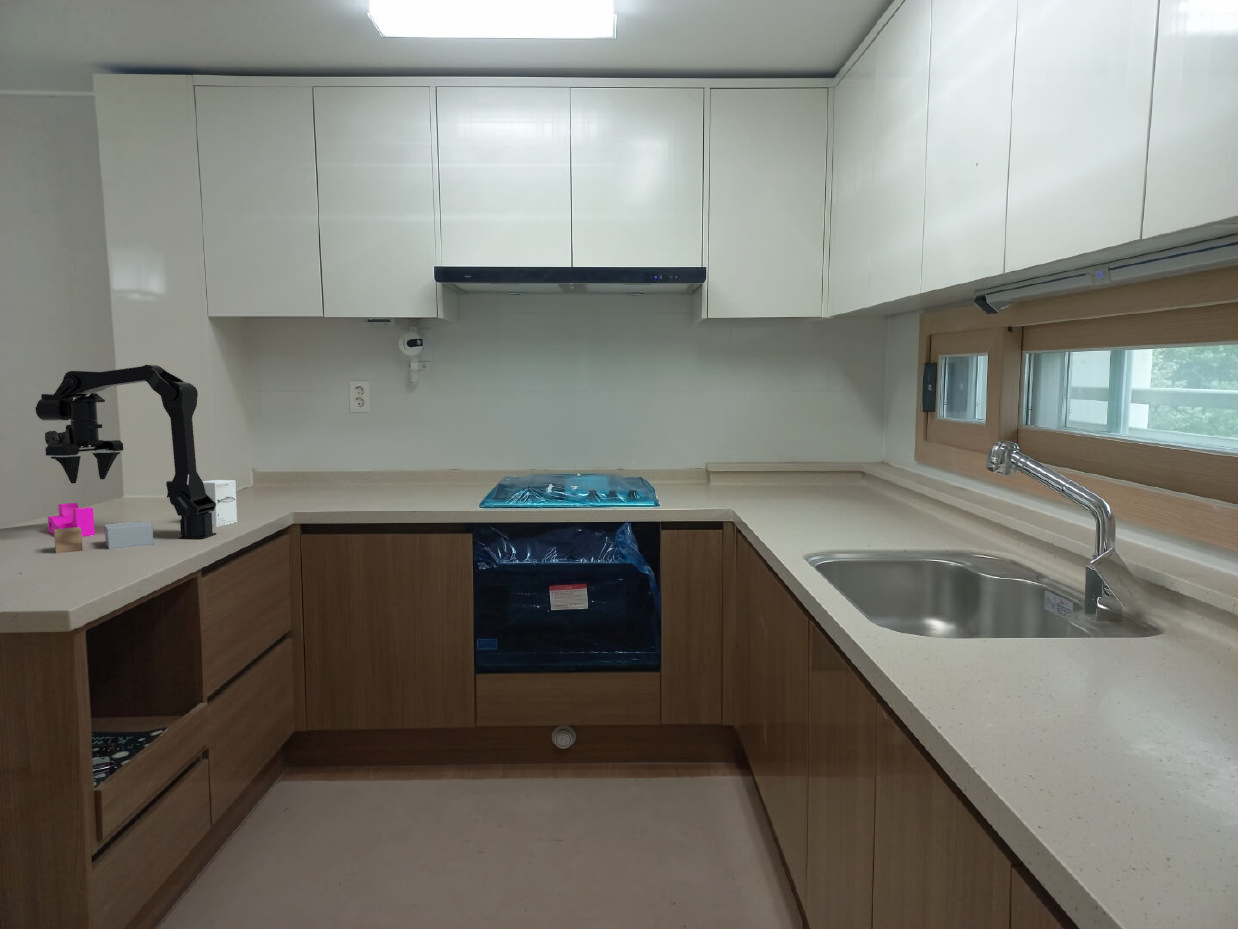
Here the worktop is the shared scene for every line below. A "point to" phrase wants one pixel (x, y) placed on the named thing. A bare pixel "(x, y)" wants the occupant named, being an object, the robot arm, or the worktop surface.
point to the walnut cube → (68, 540)
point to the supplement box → (222, 501)
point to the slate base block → (128, 534)
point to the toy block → (73, 519)
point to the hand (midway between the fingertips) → (88, 481)
